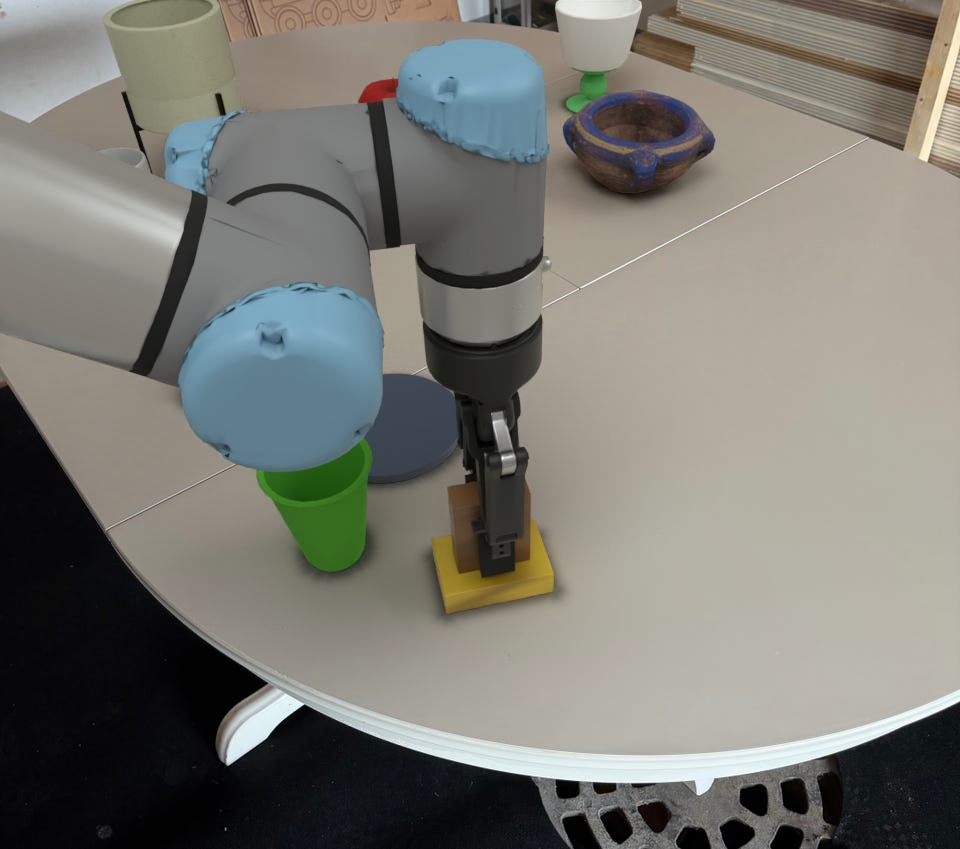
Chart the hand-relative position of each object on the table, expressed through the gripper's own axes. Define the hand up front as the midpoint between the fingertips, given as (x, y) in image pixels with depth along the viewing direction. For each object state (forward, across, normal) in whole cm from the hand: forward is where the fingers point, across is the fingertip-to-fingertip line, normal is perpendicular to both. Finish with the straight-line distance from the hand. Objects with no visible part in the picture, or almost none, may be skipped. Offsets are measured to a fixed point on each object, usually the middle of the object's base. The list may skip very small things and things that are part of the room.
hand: (491, 548), depth 67 cm
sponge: (+3, 0, 0) cm, 3 cm away
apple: (+4, +77, -4) cm, 77 cm away
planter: (+4, +84, +25) cm, 88 cm away
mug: (+4, +65, +33) cm, 73 cm away
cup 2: (+4, +91, -39) cm, 99 cm away
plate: (+3, +20, +6) cm, 21 cm away
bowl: (+4, +63, -36) cm, 73 cm away
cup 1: (+4, +6, +13) cm, 14 cm away
